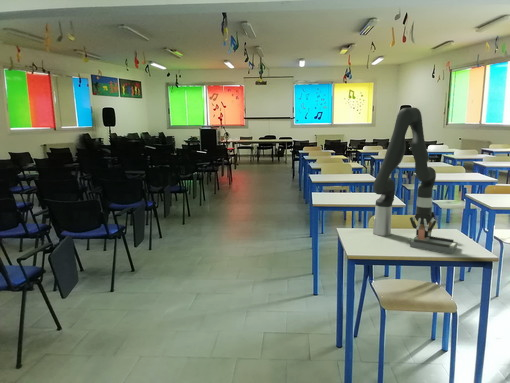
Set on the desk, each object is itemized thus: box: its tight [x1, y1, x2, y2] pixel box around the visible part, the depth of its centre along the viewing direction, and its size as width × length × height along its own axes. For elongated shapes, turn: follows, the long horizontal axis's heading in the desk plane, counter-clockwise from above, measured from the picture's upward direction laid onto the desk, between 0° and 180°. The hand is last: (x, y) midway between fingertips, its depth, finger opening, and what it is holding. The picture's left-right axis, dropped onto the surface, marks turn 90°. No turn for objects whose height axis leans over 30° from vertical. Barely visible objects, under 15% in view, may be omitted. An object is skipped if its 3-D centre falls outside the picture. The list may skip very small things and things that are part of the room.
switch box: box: [409, 235, 458, 255], centre depth 202 cm, size 20×12×4 cm, turn 53°
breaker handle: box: [414, 228, 430, 241], centre depth 205 cm, size 6×7×6 cm
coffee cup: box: [420, 211, 435, 236], centre depth 218 cm, size 8×8×15 cm
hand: (422, 236), depth 205 cm, fingers closed on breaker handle, 3 cm apart
